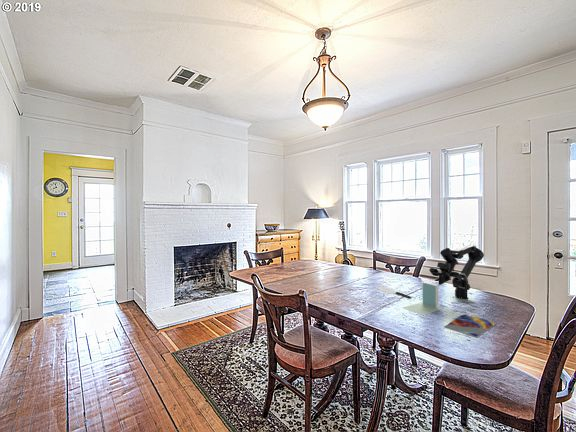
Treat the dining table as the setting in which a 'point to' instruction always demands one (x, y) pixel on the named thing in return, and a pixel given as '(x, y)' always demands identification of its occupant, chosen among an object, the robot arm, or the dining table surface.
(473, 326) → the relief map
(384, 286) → the kitchen cleaver
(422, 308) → the sage rubber mat
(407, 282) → the dining table surface
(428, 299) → the standing glazed tile
